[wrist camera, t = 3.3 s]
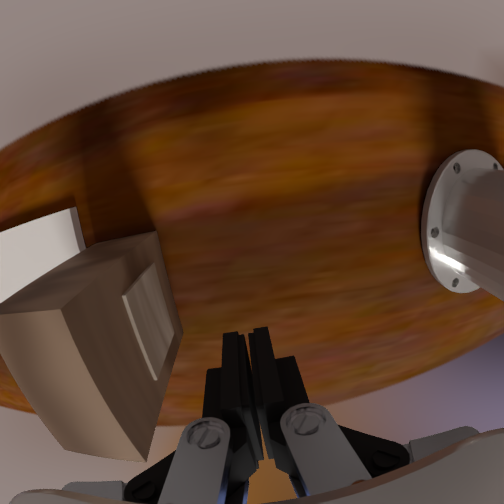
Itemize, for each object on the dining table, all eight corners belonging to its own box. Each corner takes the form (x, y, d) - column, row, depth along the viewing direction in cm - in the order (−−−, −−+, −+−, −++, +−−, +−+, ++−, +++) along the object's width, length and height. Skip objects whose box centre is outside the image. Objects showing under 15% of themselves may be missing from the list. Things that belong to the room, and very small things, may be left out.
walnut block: (159, 230, 19) (64, 308, 7) (185, 332, 21) (150, 462, 10) (96, 243, 19) (-17, 315, 7) (126, 337, 21) (64, 449, 10)
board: (76, 206, 18) (69, 208, 17) (128, 367, 22) (125, 374, 21) (-28, 243, 18) (-34, 246, 17) (18, 364, 22) (14, 368, 21)
